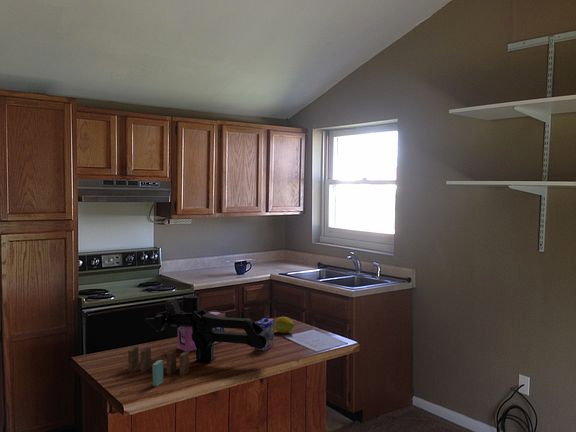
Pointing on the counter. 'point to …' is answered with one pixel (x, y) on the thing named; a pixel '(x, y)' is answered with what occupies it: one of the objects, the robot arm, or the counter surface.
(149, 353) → the walnut domino
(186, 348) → the gum box
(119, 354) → the counter surface
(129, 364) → the walnut domino
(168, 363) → the walnut domino
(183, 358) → the walnut domino
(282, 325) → the lemon
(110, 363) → the counter surface
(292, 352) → the counter surface
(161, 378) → the teal domino
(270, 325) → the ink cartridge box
